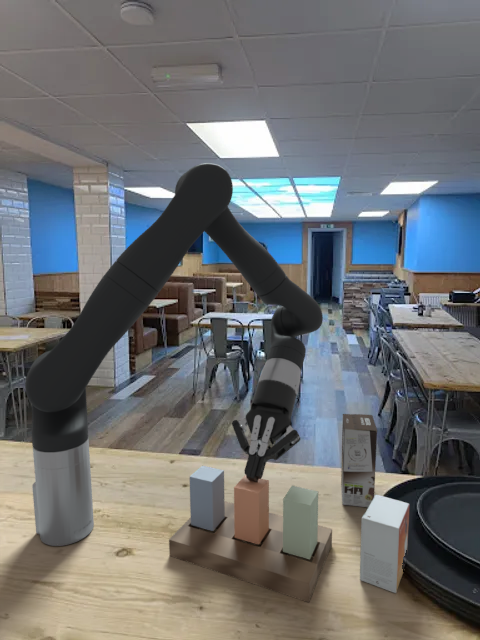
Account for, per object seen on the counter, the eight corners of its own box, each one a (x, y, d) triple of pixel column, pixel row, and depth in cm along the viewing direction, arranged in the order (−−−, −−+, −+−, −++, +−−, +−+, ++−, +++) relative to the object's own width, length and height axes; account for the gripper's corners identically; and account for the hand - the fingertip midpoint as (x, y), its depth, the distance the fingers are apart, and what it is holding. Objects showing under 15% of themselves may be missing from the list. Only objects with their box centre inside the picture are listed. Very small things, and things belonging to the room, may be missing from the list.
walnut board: (169, 555, 73) (169, 539, 73) (210, 511, 86) (209, 497, 85) (308, 602, 63) (309, 583, 63) (331, 544, 76) (332, 528, 75)
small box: (396, 595, 64) (399, 529, 63) (358, 580, 67) (360, 517, 66) (407, 563, 71) (410, 502, 70) (373, 551, 74) (375, 493, 72)
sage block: (282, 551, 69) (283, 498, 68) (291, 535, 73) (292, 485, 72) (309, 559, 68) (310, 505, 66) (317, 542, 71) (318, 491, 70)
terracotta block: (234, 537, 73) (234, 487, 72) (245, 523, 77) (245, 475, 76) (258, 544, 71) (258, 493, 70) (268, 529, 75) (268, 480, 74)
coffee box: (375, 508, 86) (378, 430, 84) (341, 505, 88) (343, 428, 85) (370, 485, 95) (373, 414, 93) (340, 482, 96) (342, 412, 94)
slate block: (190, 524, 76) (189, 476, 75) (203, 511, 80) (202, 465, 79) (212, 531, 75) (212, 481, 73) (224, 517, 79) (223, 470, 77)
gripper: (239, 374, 82) (208, 464, 73) (307, 382, 76) (284, 480, 67) (250, 393, 87) (223, 479, 78) (315, 402, 82) (294, 495, 73)
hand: (251, 479), depth 73 cm, fingers closed
